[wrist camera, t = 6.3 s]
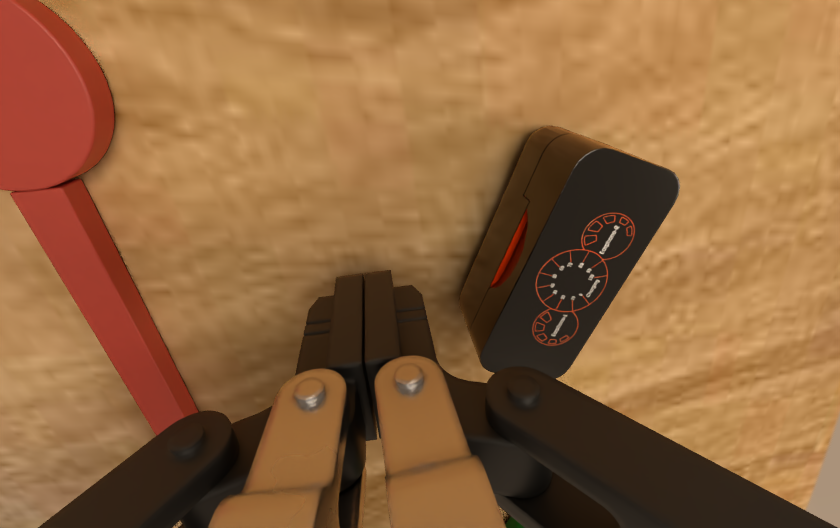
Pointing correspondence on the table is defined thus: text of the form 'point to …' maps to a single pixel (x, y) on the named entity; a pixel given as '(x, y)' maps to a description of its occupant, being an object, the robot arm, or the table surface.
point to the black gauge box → (560, 249)
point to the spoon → (76, 194)
